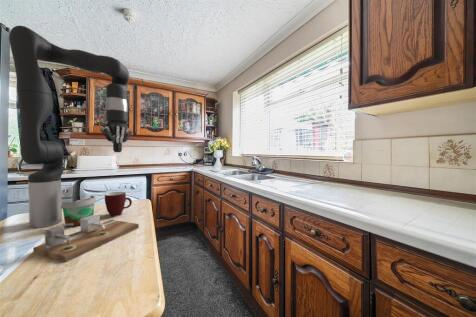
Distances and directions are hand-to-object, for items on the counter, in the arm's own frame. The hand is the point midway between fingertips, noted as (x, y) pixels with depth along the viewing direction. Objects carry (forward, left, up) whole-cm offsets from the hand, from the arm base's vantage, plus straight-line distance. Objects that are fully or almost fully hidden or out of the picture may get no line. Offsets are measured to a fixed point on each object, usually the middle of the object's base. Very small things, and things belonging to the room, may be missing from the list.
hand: (117, 152), depth 79 cm
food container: (-10, -7, -29) cm, 32 cm away
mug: (-7, +6, -29) cm, 31 cm away
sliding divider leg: (+6, -14, -27) cm, 31 cm away
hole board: (+7, -15, -29) cm, 33 cm away
